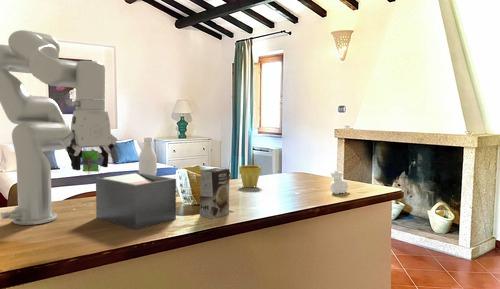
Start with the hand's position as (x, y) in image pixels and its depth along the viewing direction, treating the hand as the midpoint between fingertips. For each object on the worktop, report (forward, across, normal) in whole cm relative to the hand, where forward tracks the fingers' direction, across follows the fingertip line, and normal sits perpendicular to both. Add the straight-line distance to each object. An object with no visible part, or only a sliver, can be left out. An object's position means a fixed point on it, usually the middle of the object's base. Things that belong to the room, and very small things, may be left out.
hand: (90, 167), depth 111 cm
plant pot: (+20, +89, +9) cm, 92 cm away
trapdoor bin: (+19, +19, +4) cm, 28 cm away
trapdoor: (+9, +19, +6) cm, 22 cm away
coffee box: (+19, +39, -13) cm, 46 cm away
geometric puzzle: (+2, 0, 0) cm, 2 cm away
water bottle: (+20, +39, +23) cm, 50 cm away
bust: (+19, +104, -30) cm, 110 cm away
